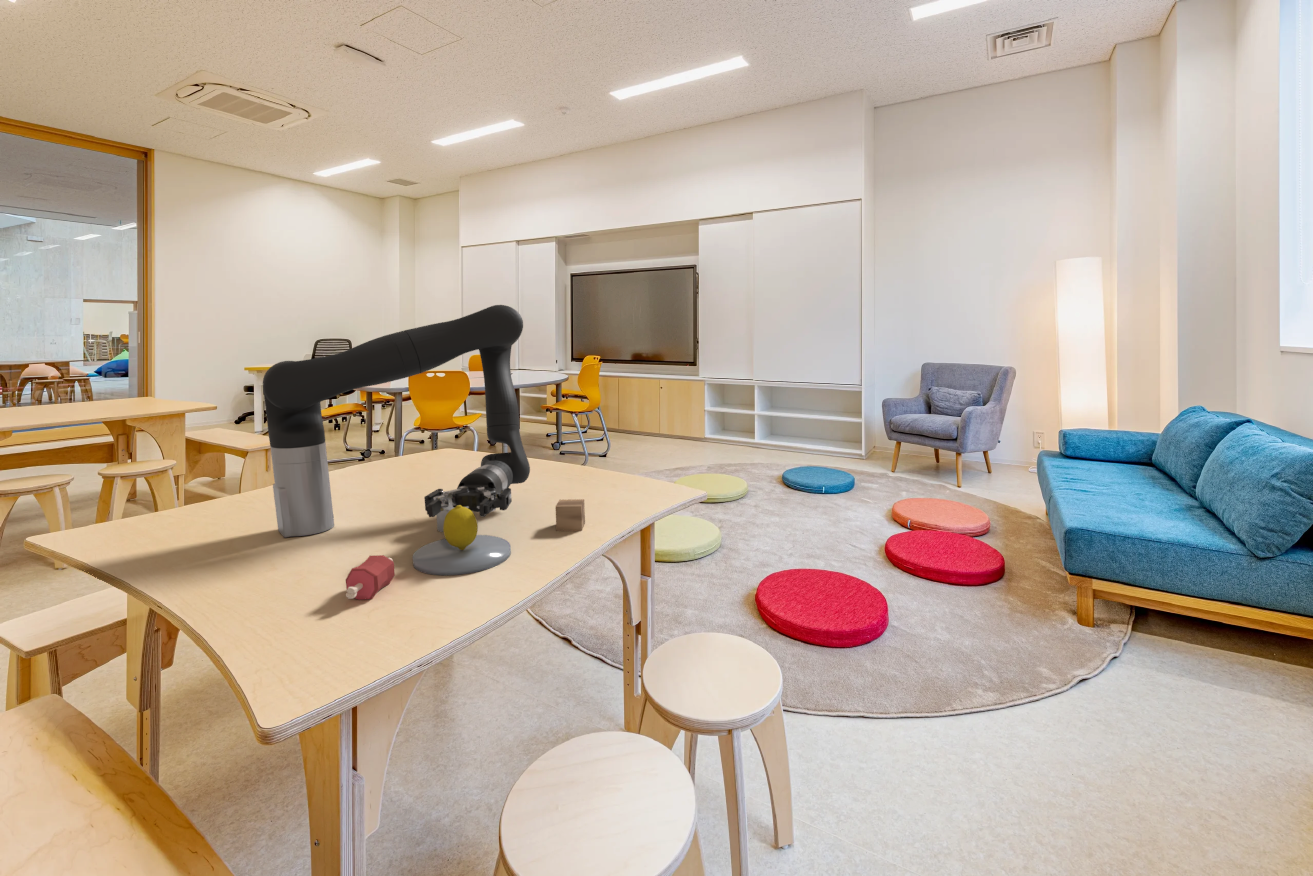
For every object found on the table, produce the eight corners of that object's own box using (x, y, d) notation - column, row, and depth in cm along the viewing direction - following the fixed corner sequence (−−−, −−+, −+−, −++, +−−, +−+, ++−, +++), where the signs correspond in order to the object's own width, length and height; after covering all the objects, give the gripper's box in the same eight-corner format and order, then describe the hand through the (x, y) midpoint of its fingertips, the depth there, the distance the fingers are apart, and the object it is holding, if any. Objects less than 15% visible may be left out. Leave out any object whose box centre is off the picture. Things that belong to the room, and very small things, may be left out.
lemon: (484, 544, 104) (480, 500, 102) (471, 556, 99) (467, 510, 97) (454, 543, 105) (450, 500, 103) (439, 555, 99) (435, 509, 98)
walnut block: (560, 523, 120) (559, 499, 119) (585, 523, 120) (584, 499, 119) (556, 531, 115) (555, 506, 114) (582, 531, 115) (581, 506, 114)
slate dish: (435, 583, 90) (435, 576, 90) (399, 556, 102) (398, 549, 102) (528, 557, 101) (527, 550, 101) (485, 535, 113) (484, 529, 113)
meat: (372, 571, 94) (378, 543, 93) (401, 579, 94) (408, 551, 93) (328, 605, 82) (335, 573, 81) (363, 614, 82) (369, 583, 81)
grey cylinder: (443, 533, 114) (441, 498, 113) (433, 528, 118) (430, 493, 116) (468, 528, 117) (466, 494, 116) (457, 522, 121) (455, 489, 120)
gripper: (445, 468, 114) (411, 489, 98) (519, 467, 114) (497, 488, 98) (448, 506, 115) (415, 533, 99) (521, 505, 115) (500, 532, 99)
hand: (456, 511), depth 98 cm, fingers open, 8 cm apart
